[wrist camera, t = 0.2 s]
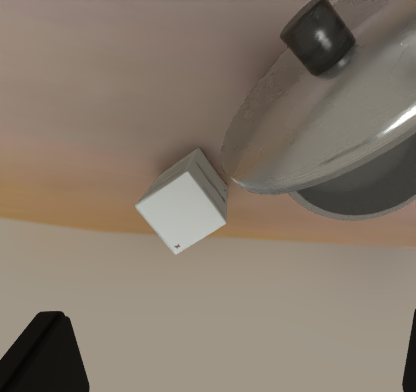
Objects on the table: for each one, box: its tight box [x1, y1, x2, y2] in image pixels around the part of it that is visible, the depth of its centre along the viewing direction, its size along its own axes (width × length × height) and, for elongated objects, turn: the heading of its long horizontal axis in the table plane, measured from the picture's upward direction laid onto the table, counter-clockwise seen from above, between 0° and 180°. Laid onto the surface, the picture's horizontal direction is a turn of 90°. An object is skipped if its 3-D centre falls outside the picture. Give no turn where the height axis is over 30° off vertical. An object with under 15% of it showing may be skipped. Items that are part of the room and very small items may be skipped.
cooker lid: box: [220, 0, 416, 195], centre depth 19 cm, size 19×22×4 cm
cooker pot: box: [288, 133, 416, 221], centre depth 36 cm, size 19×22×12 cm
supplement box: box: [135, 147, 228, 255], centre depth 40 cm, size 7×7×13 cm
